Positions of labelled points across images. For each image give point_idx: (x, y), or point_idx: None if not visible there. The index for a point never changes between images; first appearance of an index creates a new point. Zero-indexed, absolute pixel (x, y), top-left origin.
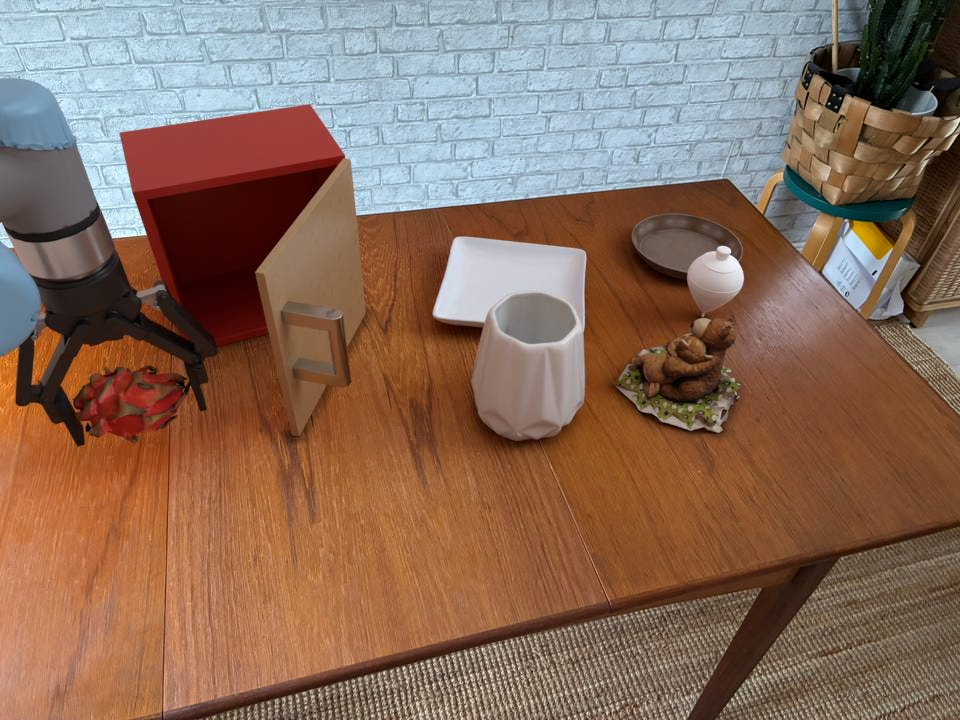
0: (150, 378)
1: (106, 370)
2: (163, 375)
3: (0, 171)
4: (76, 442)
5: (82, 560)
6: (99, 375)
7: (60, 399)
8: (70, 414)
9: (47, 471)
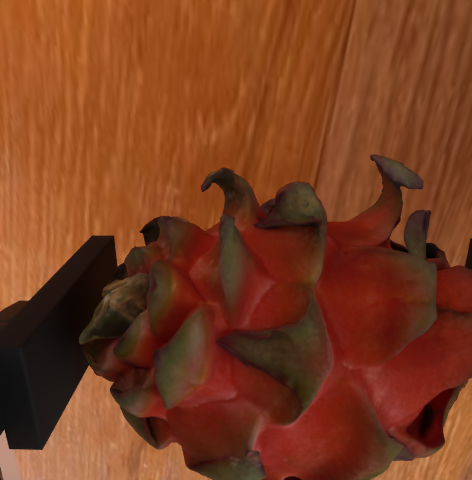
0: (413, 390)
1: (233, 293)
2: (459, 339)
3: None
4: None
5: (120, 415)
6: (203, 369)
7: (30, 429)
8: (77, 365)
9: (28, 178)
